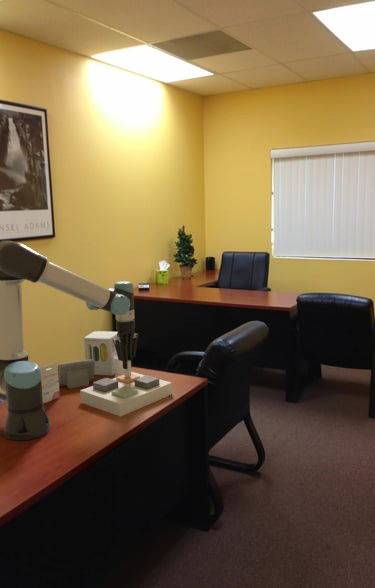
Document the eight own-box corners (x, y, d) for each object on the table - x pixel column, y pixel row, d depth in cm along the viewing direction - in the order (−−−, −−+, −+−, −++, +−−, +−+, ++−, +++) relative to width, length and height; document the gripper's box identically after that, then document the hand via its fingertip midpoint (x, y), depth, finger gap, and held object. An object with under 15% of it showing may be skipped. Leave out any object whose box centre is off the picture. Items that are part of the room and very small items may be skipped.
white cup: (125, 374, 236) (124, 352, 235) (135, 378, 230) (134, 356, 229) (110, 378, 232) (109, 356, 230) (120, 382, 226) (118, 360, 224)
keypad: (120, 416, 188) (119, 403, 188) (80, 402, 203) (80, 390, 202) (172, 394, 209) (171, 382, 208) (132, 383, 224) (132, 371, 223)
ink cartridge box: (52, 395, 212) (49, 360, 210) (60, 397, 209) (57, 362, 207) (34, 401, 205) (32, 365, 203) (42, 404, 202) (40, 368, 200)
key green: (124, 407, 193) (124, 395, 192) (112, 403, 198) (111, 391, 197) (138, 402, 198) (137, 389, 198) (125, 398, 203) (125, 386, 202)
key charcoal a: (105, 398, 200) (104, 386, 199) (93, 394, 204) (92, 382, 204) (118, 393, 205) (118, 381, 204) (107, 389, 210) (106, 377, 209)
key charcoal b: (147, 395, 202) (146, 383, 201) (134, 391, 206) (134, 379, 206) (159, 390, 207) (159, 378, 206) (147, 386, 212) (146, 375, 211)
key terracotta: (128, 392, 209) (127, 380, 208) (116, 388, 214) (115, 377, 213) (140, 387, 214) (140, 376, 214) (128, 384, 219) (128, 372, 218)
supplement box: (85, 374, 237) (83, 337, 234) (96, 365, 250) (94, 330, 247) (112, 375, 234) (110, 338, 231) (122, 367, 247) (120, 331, 244)
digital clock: (95, 379, 230) (94, 356, 228) (96, 386, 222) (94, 362, 220) (58, 383, 227) (56, 359, 225) (57, 389, 218) (55, 365, 216)
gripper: (119, 324, 202) (122, 381, 206) (143, 318, 212) (145, 373, 216) (106, 321, 207) (109, 378, 211) (130, 316, 216) (132, 370, 220)
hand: (127, 375), depth 213 cm, fingers closed
